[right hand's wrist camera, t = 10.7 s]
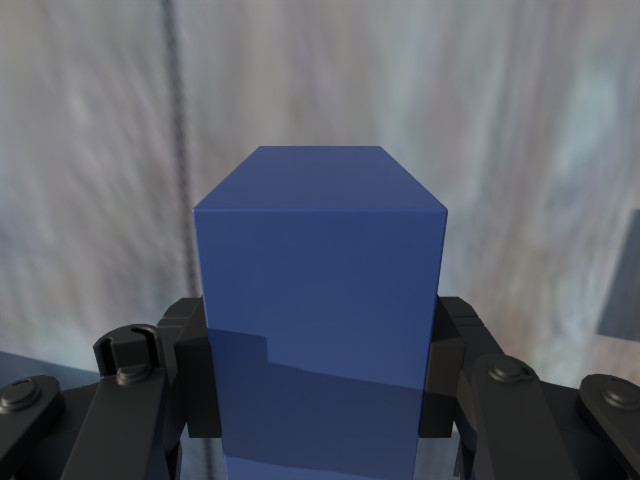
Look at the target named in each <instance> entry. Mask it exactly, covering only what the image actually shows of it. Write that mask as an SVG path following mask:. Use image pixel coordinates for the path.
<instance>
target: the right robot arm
mask: <svg viewBox="0 0 640 480" xmlns="http://www.w3.org/2000/svg"><path fill="white" fill-rule="evenodd" d="M93 349H94V353H95V356H96V360H97V364H98V368H99V371H100V375H101V380H100V382H98V383H95V384H91V385H87V386H83V387H78V388H74V389H69V390H64V391H62V390H61V387H60V384H59V381H58V380H56V379H55V378H54V377H51V376H45V375H41V376H33V377H28V378H24V379H22V380H18V381H15V382H13V383H11V384H9V385H7V386H5V387H3V388H2V389H0V480H180V471H181V461H182V448H181V442H180V436H181V434H182V431H183V429H184V426H185V424H186V422H187V426H188V432H189V438H221V428H220V420H219V413H218V405H217V397H216V390H215V382H214V375H213V367H212V359H211V352H210V344H209V340H208V332H207V324H206V317H205V309H204V301H203V294H202V296H201V298H181V299H180V300H179V301H177V302H176V303H174V304H173V305H171V306H170V307H169V308H168V310H167V311H166V312H165V314H164V315H163V317H162V319H161V320H160V321H159V323H158V324H157V325H156V327H155V326H152V325H148V324H132V325H128V326H123V327H120V328H117V329H115V330H113V331H110V332H108V333H107V334H105V335H104V336H102V337H101V338H99V339H98V341H97V342H96V343H95V344H94V346H93ZM453 422H455V424H456V426H457V429H458V431H459V434H460V436H461V437H460V442H459V447H458V453H457V458H456V463H455V469H454V476H456V477H458V476H459V471H460V480H640V387H639V386H637V385H635V384H633V383H631V382H629V381H627V380H624V379H622V378H618V377H615V376H612V375H604V374H593V375H587V376H586V377H585V378H584V379H583V380H582V382H581V385H580V388H579V389H574V388H569V387H565V386H560V385H556V384H551V383H547V382H544V381H540V379H539V377H538V376H537V374H536V373H535V371H534V370H533V369H532V368H531V367H529V366H528V365H527V364H526V363H524V362H523V361H520V360H518V359H516V358H514V357H512V356H508V355H505V353H504V352H503V351H502V349H501V348H500V346H499V345H498V343H497V342H496V341H495V339H494V338H493V336H492V335H491V333H490V332H489V331H488V329H487V328H486V327H484V323H483V322H482V321H481V319H480V318H478V315H477V313H476V312H475V311H474V309H473V308H472V306H471V305H469V304H468V303H467V302H465V301H464V300H462V299H461V298H459V297H439V296H438V294H437V299H436V307H435V314H434V322H433V330H432V337H431V344H430V352H429V359H428V367H427V374H426V382H425V390H424V397H423V405H422V413H421V420H420V428H419V437H420V438H451V433H452V428H453Z"/></svg>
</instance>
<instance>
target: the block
mask: <svg viewBox="0 0 640 480" xmlns="http://www.w3.org/2000/svg"><path fill="white" fill-rule="evenodd" d="M447 215H448V210H447V208H446V207H445V206H444V205H443V204H441V203H440V202H439V201H438V200H437V199H436V198H435V197H434V196H433V195H432V194H431V193H430V192H429V191H428V190H426V189H425V188H424V187H423V186H422V185H421V184H420V183H419V182H418V181H417V180H416V179H415V178H414V177H413V176H412V175H410V174H409V173H408V172H407V171H406V170H405V169H404V168H403V167H402V166H401V165H400V164H399V163H398V162H397V161H396V160H394V159H393V158H392V157H391V156H390V155H389V154H388V153H387V152H386V151H385V150H384V149H383V148H382V147H380V146H260V147H258V148H257V149H256V150H255V151H254V152H253V153H252V154H251V155H250V156H249V157H247V158H246V159H245V160H244V161H243V162H242V163H241V164H240V165H239V166H238V167H237V168H236V169H235V170H234V171H232V172H231V173H230V174H229V175H228V176H227V177H226V178H225V179H224V180H223V181H222V182H221V183H220V184H219V185H217V186H216V187H215V188H214V189H213V190H212V191H211V192H210V193H209V194H208V195H207V196H206V197H205V198H204V199H202V200H201V201H200V202H199V203H198V204H197V205H196V206H195V207H194V208H193V209H192V217H193V225H194V232H195V240H196V248H197V255H198V263H199V271H200V278H201V286H202V294H203V301H204V309H205V317H206V324H207V332H208V340H209V344H210V352H211V359H212V367H213V375H214V382H215V390H216V397H217V405H218V413H219V420H220V428H221V439H222V447H223V454H224V462H225V470H226V477H227V480H413V474H414V467H415V459H416V452H417V444H418V436H419V428H420V420H421V413H422V405H423V397H424V390H425V382H426V374H427V367H428V359H429V352H430V344H431V337H432V330H433V322H434V314H435V307H436V299H437V291H438V284H439V276H440V268H441V261H442V253H443V246H444V238H445V230H446V223H447Z"/></svg>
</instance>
